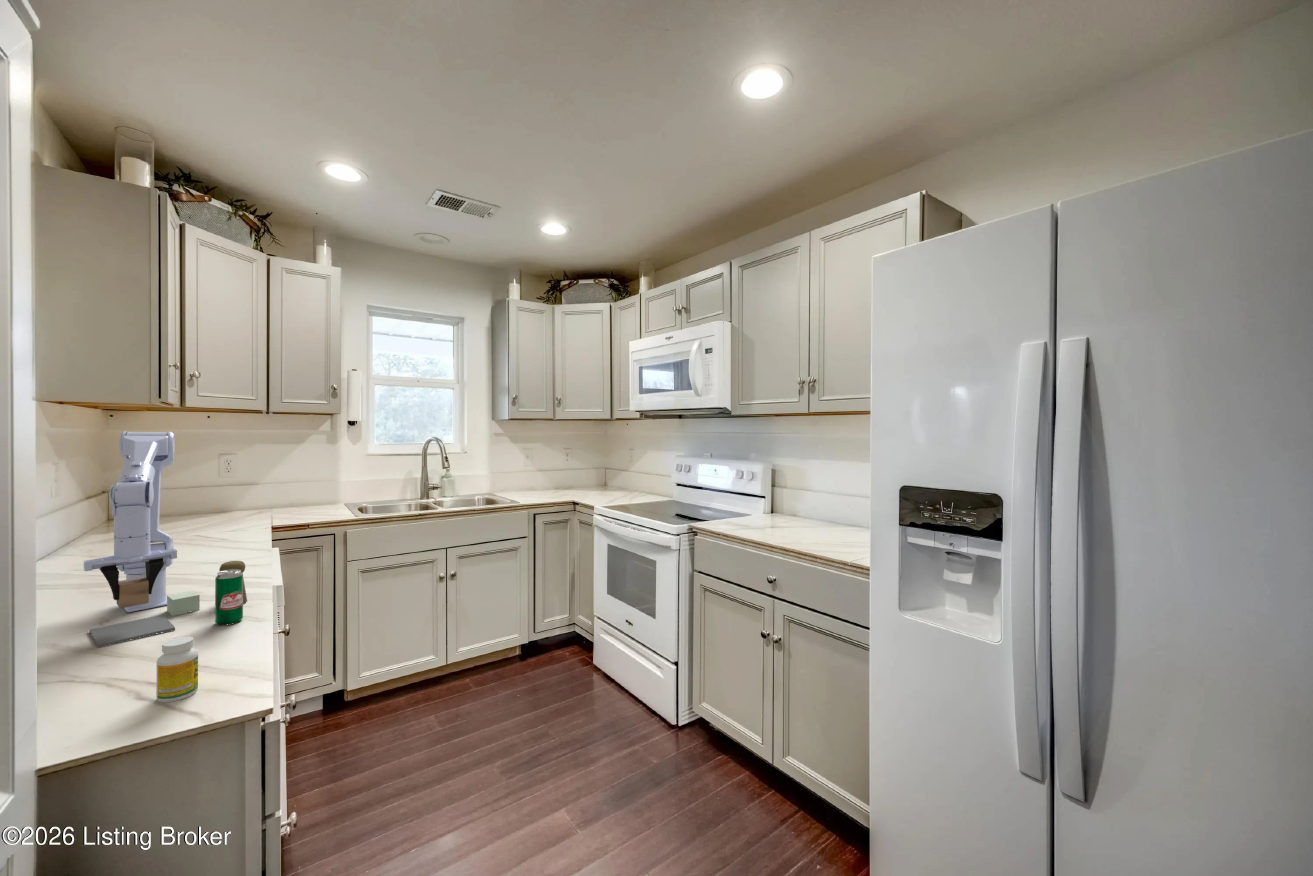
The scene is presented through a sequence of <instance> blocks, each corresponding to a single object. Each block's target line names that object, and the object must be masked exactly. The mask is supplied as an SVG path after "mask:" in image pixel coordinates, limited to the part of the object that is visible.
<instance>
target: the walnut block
mask: <svg viewBox="0 0 1313 876" xmlns="http://www.w3.org/2000/svg"><path fill="white" fill-rule="evenodd" d="M118 587H119V600H116V605H117V606H118V608H119V609H124V608H125V607H130V606H136V605H141V604H146V603H149V581H148V580H147V579H146V578H145V577H141V578H134V579H128V580H126V579H124V580H119V581H118Z"/></svg>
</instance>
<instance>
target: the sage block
mask: <svg viewBox="0 0 1313 876" xmlns="http://www.w3.org/2000/svg"><path fill="white" fill-rule="evenodd" d="M166 598H167V605H166V612H167V613H169V614H170V615H171V614H172V615H174V616H178V614H179V615H182V613H184V614H187V612H188V613H191V612H190V611H193V612H197V610H198V611H200V609H201V608H200V607H201V606H200V593H198V592H196V591H194V590H190V591H183V592H178V593H174V594H168V595H167V594H166ZM172 615H171V616H172Z"/></svg>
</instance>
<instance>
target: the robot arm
mask: <svg viewBox="0 0 1313 876" xmlns="http://www.w3.org/2000/svg"><path fill="white" fill-rule="evenodd" d="M175 438H176V437H175V433H173V432H172V431H127V430H125V431H124V430H123V432H122V433H120V434H119V440H118V449H119V454H120V456H121V458H122V462H123V463H124V465H123V466H122V467H121V469H120V472H119V476H118V478H117V479H118V480H117V482H116V484H112V485H111V486H110V490H109V503H110V508H111V517H112V518H113V555H110V556H105V557H100V558H99V557H98V558H93V559H87V560H83V571H84V572H89V571H93V570H98V569H99V570H100V572H101V573H102V575H103V576H104V578H105V579H106V581H107V583H108V585H109V587H110V590H111V594H112V599H113V600H114V601H117V600H119V587H118V581H120V580H119V578H120V572H121V573H123V575H125V580H128V579H134V578H141V577H145V578H146V579H147V580H148V581H149V603H146V604H141V605H136V606H130V607H125V608H123V609H124V611H125V612H126V613H131V612H133V613H134V612H136V611H143V610H147V609H153V608H157V607H163V606H167V574H166V573H167V567H171V565H173V564H174V560H175V559H178V549H177V548H174V540H173V537H172V536H171V535H170V534H169V533H166V532H163V530H160V516H161V515H160V513H161V512H160V511H161V510H160V509H161V487H162V486H161V485H162V474H163V472H164V469H165V468H167V467H168V466H171V465H173V464H174V460H175V448H176V439H175Z"/></svg>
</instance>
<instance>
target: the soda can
mask: <svg viewBox="0 0 1313 876" xmlns="http://www.w3.org/2000/svg"><path fill="white" fill-rule="evenodd" d="M243 578H244V574H242V573H241V570H239V569H231V570H224V571H221V572H220V571H218V572H217V575H216V576H215V579H214V581H215V583H214V586H215V588H214V592H215V593H214V596H215V597H214V598H215V599H214V601H215V602H214V605H215V607H214V610H215V611H214V612H215V613H214V615H215V616H214V618H215V619H214V622H215V624H217V625H218V626H229V624H231V625H233V624H232V623H235V624H237V623H239V622H240V621H242V620H243V618H244V604H243ZM236 622H237V623H236ZM227 624H228V625H227Z"/></svg>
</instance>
